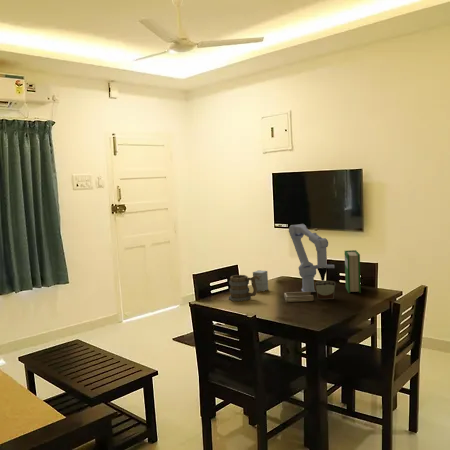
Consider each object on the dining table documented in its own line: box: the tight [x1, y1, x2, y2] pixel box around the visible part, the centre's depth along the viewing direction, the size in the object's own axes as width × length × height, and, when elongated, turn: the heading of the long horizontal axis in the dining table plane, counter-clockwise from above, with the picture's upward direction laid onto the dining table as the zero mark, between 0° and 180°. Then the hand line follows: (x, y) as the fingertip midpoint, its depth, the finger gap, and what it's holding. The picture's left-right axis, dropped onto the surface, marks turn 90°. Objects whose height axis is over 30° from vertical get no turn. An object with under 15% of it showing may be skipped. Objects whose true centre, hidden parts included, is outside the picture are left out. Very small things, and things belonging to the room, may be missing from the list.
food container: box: [314, 280, 337, 300], centre depth 290 cm, size 12×6×10 cm, turn 84°
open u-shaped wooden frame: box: [283, 291, 314, 303], centre depth 290 cm, size 11×16×3 cm
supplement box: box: [252, 269, 269, 292], centre depth 319 cm, size 7×7×13 cm
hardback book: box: [344, 249, 362, 294], centre depth 306 cm, size 18×7×24 cm, turn 172°
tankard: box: [228, 274, 260, 302], centre depth 297 cm, size 20×13×15 cm, turn 65°
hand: (322, 280), depth 296 cm, fingers closed
